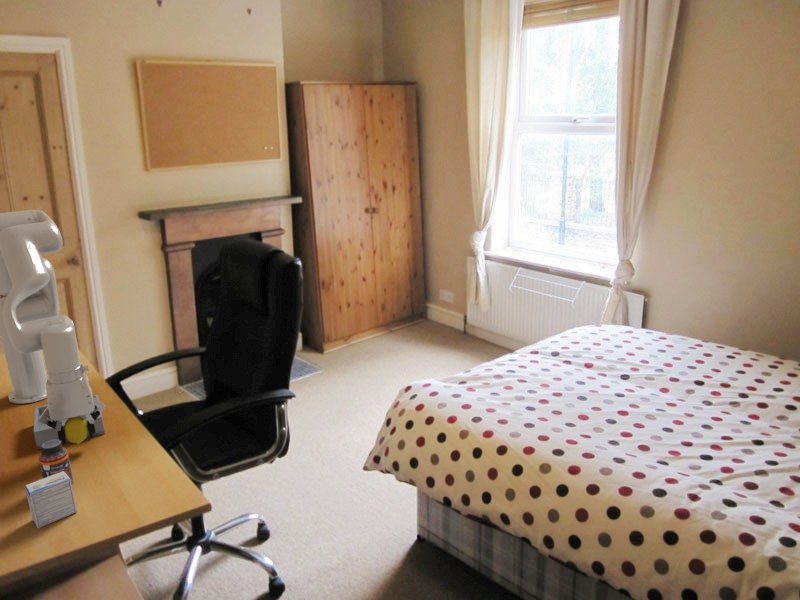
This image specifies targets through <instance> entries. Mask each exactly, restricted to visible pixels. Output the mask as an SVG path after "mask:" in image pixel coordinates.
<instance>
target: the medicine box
mask: <svg viewBox="0 0 800 600" xmlns="http://www.w3.org/2000/svg"><path fill="white" fill-rule="evenodd" d="M24 489H25V493H26V494H25V495H26V497H27V502H28V505H29V507H28V508H29V511H30V514H31V517H32V520H33V522H34V524H35V526H36V528H37V529H40V528H43V527H44V526H48V525H49V524H52V523H54V522H56V521H60V520H61V519H64V518H66V517H68V516H71V515H73V514H75V513H77V512H78V509H77V506H76V505H77V504H76V500H75V496H74V490H73V485H71V479H70V478H69V477H68V476H67V474H66V473H65V472H64V471H62V472H60V473H57V474H54V475H51V476H49V477H46V478H41V479H38V480H36V481H34V482H30V483H28V484H26V485H24Z"/></svg>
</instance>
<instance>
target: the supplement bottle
mask: <svg viewBox="0 0 800 600" xmlns="http://www.w3.org/2000/svg"><path fill="white" fill-rule="evenodd" d="M41 448H42V449H41V451H42V452H41V453H40V454H39V456H38V463H39V467H40V472H41V475H42V478H41V479H43V478H46V477H49V476H51V475H54V474H57V473H60V472H62V471H64V472H65V473H66V474H67V476H68V477H69V478H70V479H71V485H72V486H73V485H74V478H73V472H72V468H71V467H72V466H71V461H70V456H69V452H68V450H67V448H65V447H63V444H61V441H60V440H50V441H47V442H45V443H43V444H42V446H41Z"/></svg>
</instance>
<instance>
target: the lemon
mask: <svg viewBox="0 0 800 600" xmlns="http://www.w3.org/2000/svg"><path fill="white" fill-rule="evenodd" d="M88 432H89V430H88V424H87V422H86V420H85V419H84V418H83V417H80V416H78V417H73V418H69V419H67V421H66V422H65V424H64V434H65V437H66V438H67V440H68V441H70V442H69V443H73V444H77V445H80V444H81V443H82V442H83V441H85V440H86V439H87V438H86V437H87V436H88Z"/></svg>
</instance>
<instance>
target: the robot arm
mask: <svg viewBox="0 0 800 600" xmlns="http://www.w3.org/2000/svg"><path fill="white" fill-rule="evenodd" d="M63 243H64V242H63V236H62V234H61V231H60V229H59V227H58V226H57V224H56V223H55V221H54V220H53V219H52V218H51V217H50V216H49V215H48V214H47V213H46V212H44V211H43V210H42V209H27V210H26V209H25V210H18V211H7V212H6V211H5V212H0V296H4V297H1V298H0V340H1V344H2V349H3V352H4V357H5V361H6V366H7V370H8V375H9V379H10V383H11V387H12V392H10V393H9V394H8V401H9V402H10V403H13V404H17V405H22V404H30V403H35V402H38V401H42V400H45V399H46V403H47V404H46V405H48V406H47V408H46V409H45V410H44V412H43V413H42V414H41V416H40V417H39V422H41V423H43V424H46V425H48V426H49V427H51V428H53V429H55V430H56V431H57V433H58V438H59V440H60V441H61V440H62V442H63V444H62V446H64V445H66V444H67V443H66V437H65V434H64V427H63V426H62V421H63V420H64V419H68V418H73V417H78V416H83V415H85V417H86V418H87V420H88V421H87V424H88V430H89V435H90V437H89V439H94V436H93V433H95V427H94V422H95V420H96V419H97V417H98V416H99V415H100V413H101V412H102V413H103V411H104V410H105V409H106V407H107V405H106V403H104V402H103V401H101V399H99V400H98V399H96V398H95V397H93V395H94V394H93V390H92V389H93V388H92V385H91V383H90V379H89V377H88V375H87V373H85V372H87V371H89V369H90V368H89V365H83V364H82V363H81V362H82V361H81V356H80V351H79V346H78V341H77V340H78V339H77V335H76V326H75V324H74V321H73V320H72V319H71V317H69V316H67V315H66V314H60V310H61V309H60V301H59V300H60V298H59V294H58V293H59V292H58V284H57V277H56V273H55V268H54V266H53V264H52V263H51V261H49V260H48V259H47V258H45V257H43V255H49V254H54V253H58V252H61V250H62V248H63ZM94 405H96V406H97V407H98V408H97V409H96V410H95V407H94ZM94 410H95V411H94ZM93 411H94V412H93ZM92 412H93V413H92ZM48 415H50V418H51V419H49V418H47V417H48Z"/></svg>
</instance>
